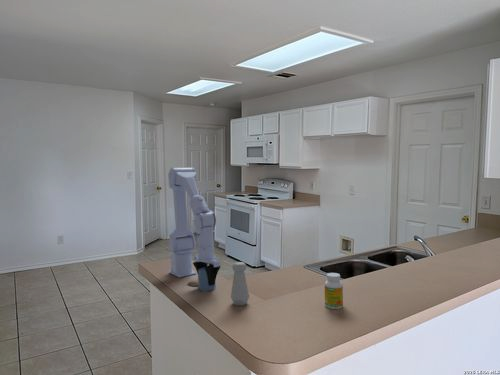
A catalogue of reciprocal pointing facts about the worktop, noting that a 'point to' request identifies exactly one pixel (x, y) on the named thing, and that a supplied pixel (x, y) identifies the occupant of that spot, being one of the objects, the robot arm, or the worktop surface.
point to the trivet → (193, 283)
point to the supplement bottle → (333, 291)
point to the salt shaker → (239, 285)
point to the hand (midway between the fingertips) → (207, 282)
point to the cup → (204, 280)
